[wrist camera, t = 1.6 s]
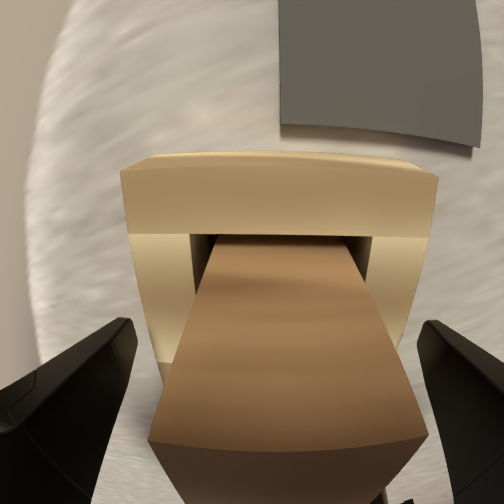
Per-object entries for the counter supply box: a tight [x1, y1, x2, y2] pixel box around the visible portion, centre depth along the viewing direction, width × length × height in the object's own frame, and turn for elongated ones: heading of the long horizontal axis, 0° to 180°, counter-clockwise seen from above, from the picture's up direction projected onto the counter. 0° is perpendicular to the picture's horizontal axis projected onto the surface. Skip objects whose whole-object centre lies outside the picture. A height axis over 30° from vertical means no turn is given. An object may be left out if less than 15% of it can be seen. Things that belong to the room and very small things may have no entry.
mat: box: [279, 0, 483, 148], centre depth 8 cm, size 8×8×1 cm
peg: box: [148, 234, 429, 504], centre depth 8 cm, size 4×4×9 cm
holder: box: [120, 151, 439, 386], centre depth 11 cm, size 9×9×3 cm
